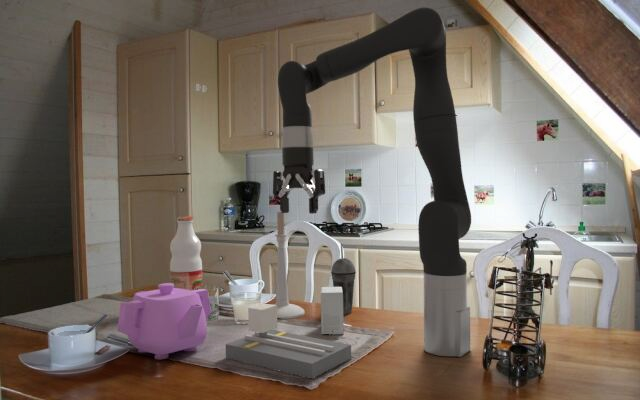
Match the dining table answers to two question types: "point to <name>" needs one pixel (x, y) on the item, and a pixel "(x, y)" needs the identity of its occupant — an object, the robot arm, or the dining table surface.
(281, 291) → the candlestick
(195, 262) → the fruit juice
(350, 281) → the beverage cup
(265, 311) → the fader tab
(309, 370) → the fader console
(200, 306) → the teapot
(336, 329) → the small box
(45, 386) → the dining table surface
